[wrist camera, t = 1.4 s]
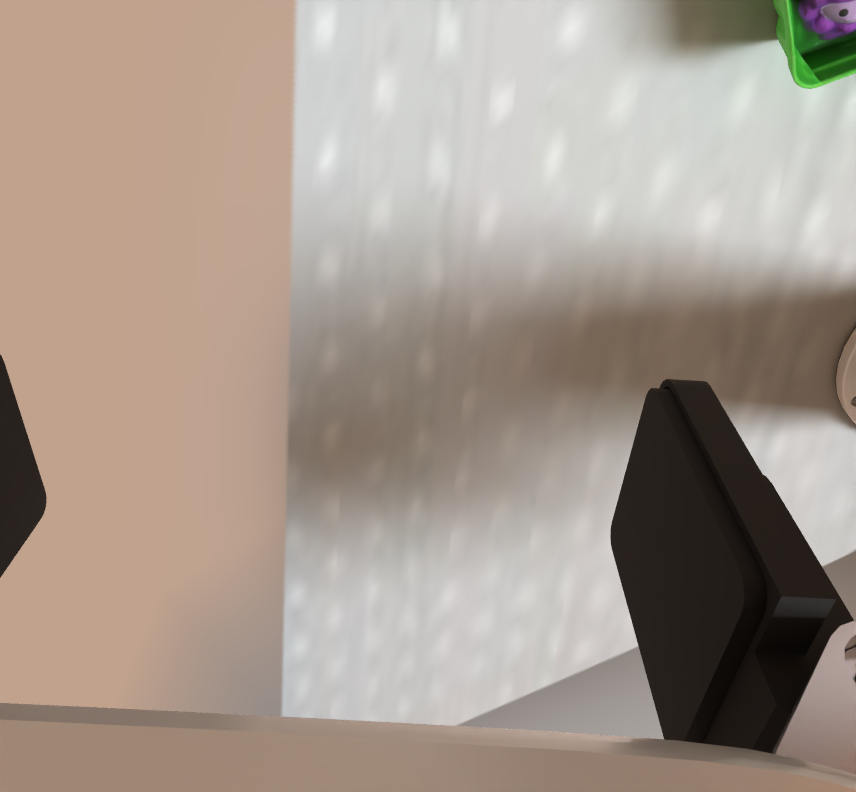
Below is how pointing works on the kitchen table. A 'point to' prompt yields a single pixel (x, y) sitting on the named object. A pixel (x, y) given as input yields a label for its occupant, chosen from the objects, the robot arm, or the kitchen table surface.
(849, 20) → the fruit basket
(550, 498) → the kitchen table surface
